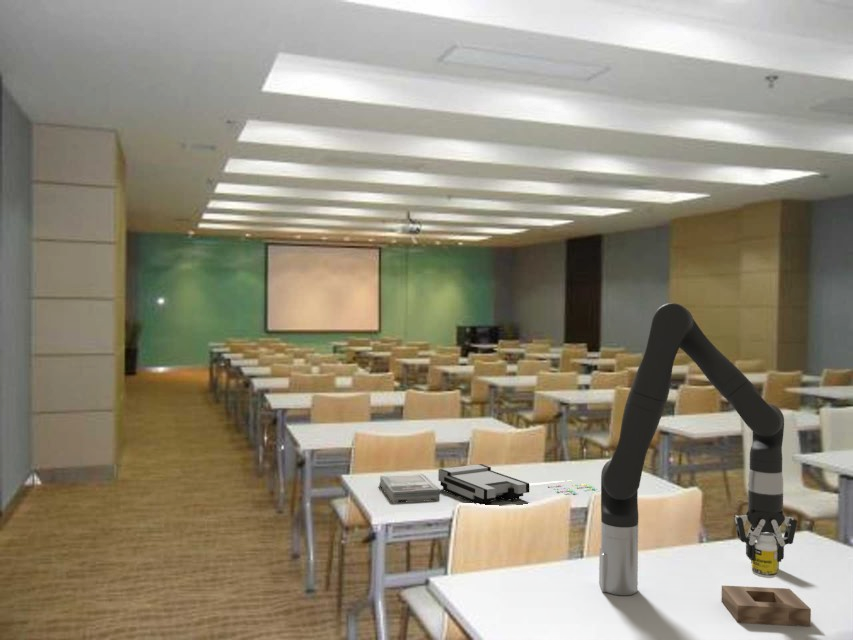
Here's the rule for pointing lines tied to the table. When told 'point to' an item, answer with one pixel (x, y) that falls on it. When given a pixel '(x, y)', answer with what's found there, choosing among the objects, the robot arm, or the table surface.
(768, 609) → the walnut socket board
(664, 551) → the table surface
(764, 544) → the supplement bottle
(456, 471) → the game console
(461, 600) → the table surface
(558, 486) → the printed paper
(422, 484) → the hard drive
